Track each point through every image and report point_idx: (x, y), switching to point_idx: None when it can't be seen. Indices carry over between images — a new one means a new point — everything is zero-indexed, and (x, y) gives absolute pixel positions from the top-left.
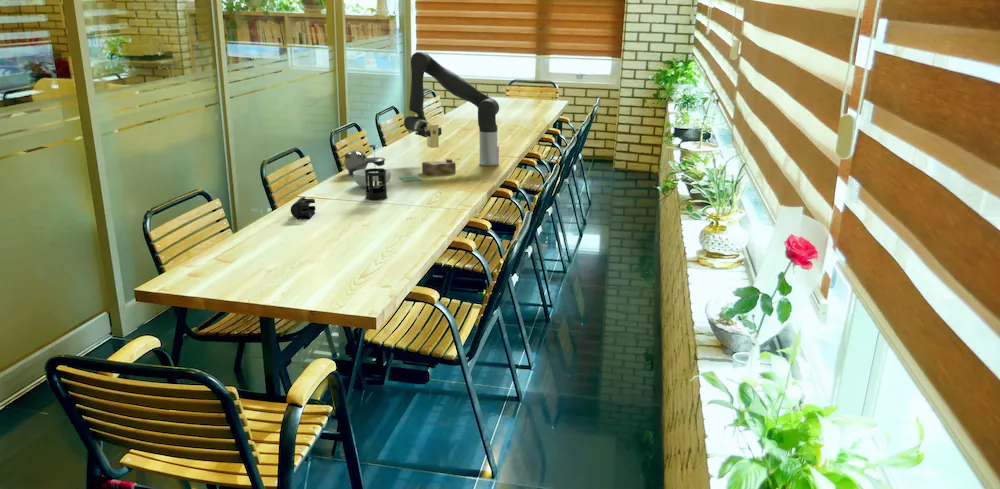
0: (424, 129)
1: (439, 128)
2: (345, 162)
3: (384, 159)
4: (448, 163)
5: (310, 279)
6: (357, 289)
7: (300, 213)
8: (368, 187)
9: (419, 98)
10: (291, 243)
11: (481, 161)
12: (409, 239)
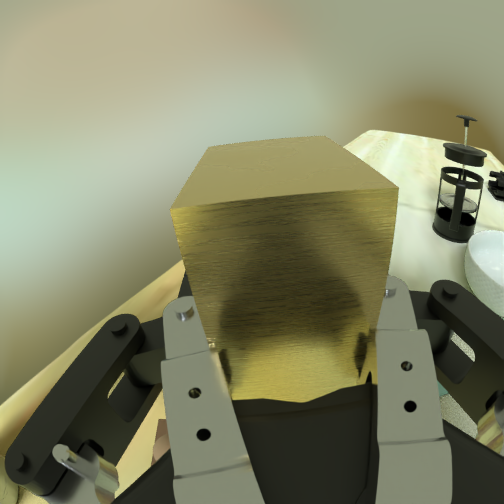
0: (431, 422)
1: (71, 405)
2: None
3: (445, 145)
4: None
5: (415, 141)
6: (384, 135)
7: (496, 183)
8: (501, 278)
9: None
10: None
11: (7, 483)
12: (364, 154)
